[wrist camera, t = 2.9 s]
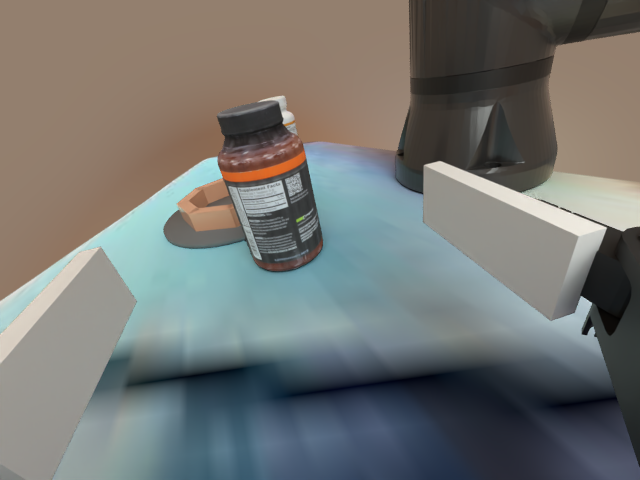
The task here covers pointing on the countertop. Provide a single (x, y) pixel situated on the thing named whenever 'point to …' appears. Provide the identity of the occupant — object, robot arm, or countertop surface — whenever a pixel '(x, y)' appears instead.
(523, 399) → the countertop surface
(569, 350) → the countertop surface
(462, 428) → the countertop surface
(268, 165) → the supplement bottle
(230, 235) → the mat
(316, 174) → the countertop surface
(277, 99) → the supplement bottle
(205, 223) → the collar
